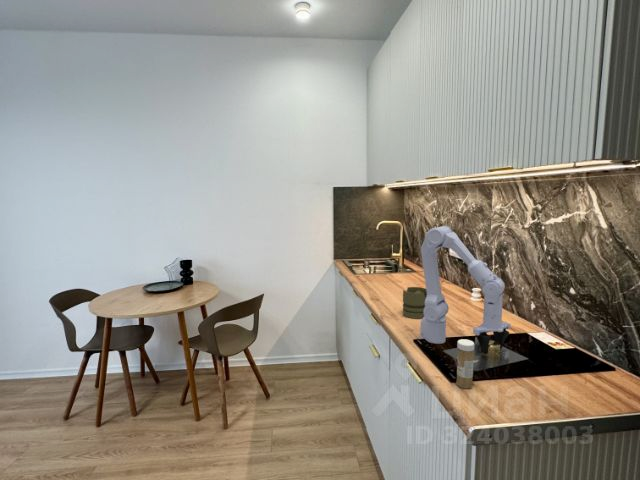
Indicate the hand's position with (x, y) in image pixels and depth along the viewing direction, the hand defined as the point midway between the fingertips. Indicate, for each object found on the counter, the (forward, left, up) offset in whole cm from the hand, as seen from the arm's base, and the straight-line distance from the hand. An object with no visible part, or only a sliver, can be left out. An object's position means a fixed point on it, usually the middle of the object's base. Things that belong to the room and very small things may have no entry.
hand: (491, 351), depth 126 cm
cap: (0, 0, -1) cm, 1 cm away
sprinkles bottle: (+12, -22, -2) cm, 25 cm away
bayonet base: (0, -3, -2) cm, 3 cm away
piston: (-46, +1, -2) cm, 46 cm away
